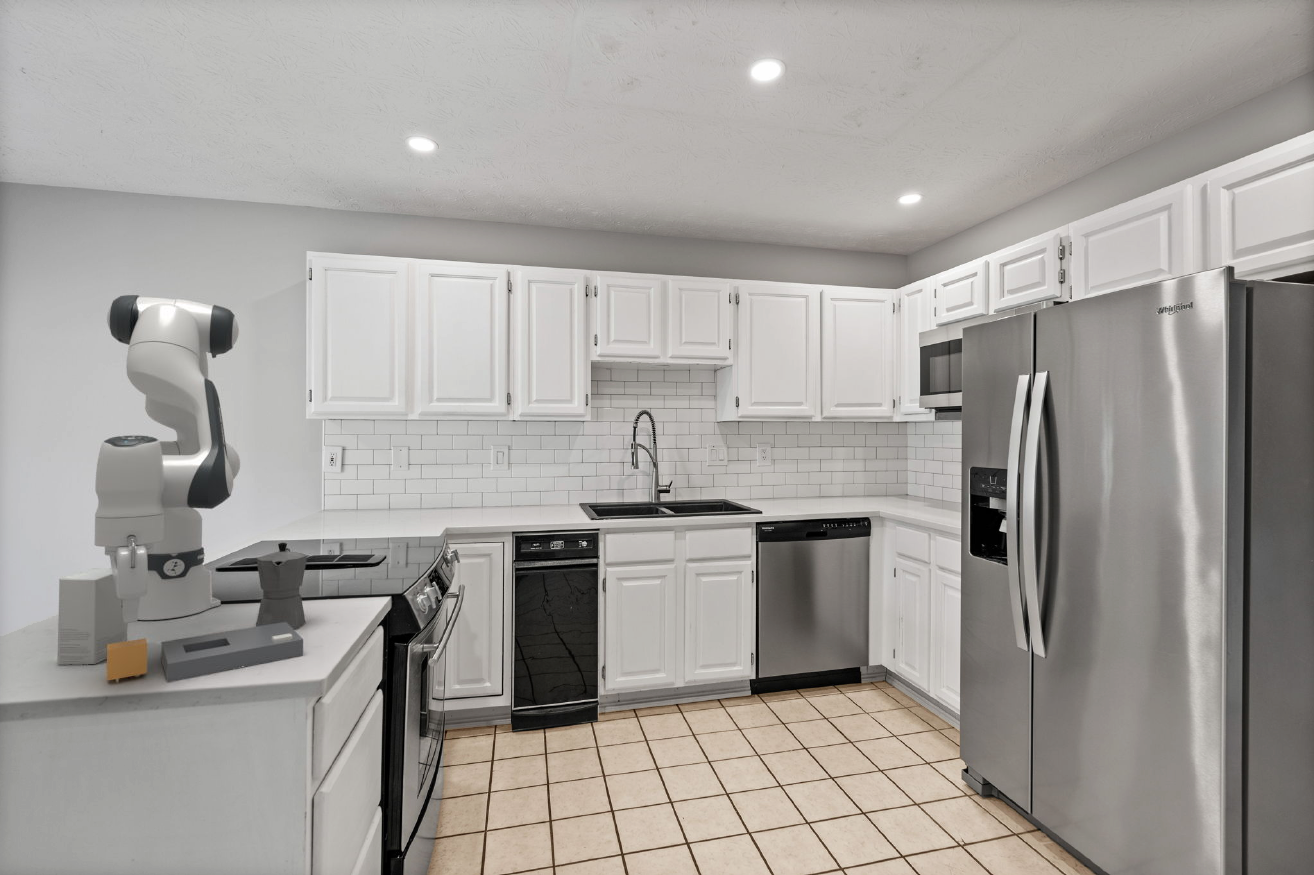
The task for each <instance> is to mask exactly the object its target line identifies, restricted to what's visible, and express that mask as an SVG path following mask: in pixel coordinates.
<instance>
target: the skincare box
mask: <svg viewBox="0 0 1314 875" xmlns="http://www.w3.org/2000/svg"><path fill="white" fill-rule="evenodd" d="M58 579H59V580H58V585H59V586H58V618H57V619H58V620H57V621H58V624H57V625H58V626H57V628H58V630H57V631H58V632H57V663H56V664H57V666H70V665H69V664H72V665H71V666H83V665H82V664H85V665H84V666H89V665H88V664H95V665H96V663H97V664H98V663H101V662H103V661H105V660H107V644H112V643H119V642H125V641H128V631H129V630H128V625H129V624H128V623H125V622H124V621H123V611H122V610H121V599H119V598H118V597H117V592H116V587H115V582H114V578H113V574H112V568H111V567H95V568H90V569H88V570H85V571H81V572H80V571H79V572H78V573H74V574H70V575H68V576H64V577H61V578H58ZM104 659H105V660H104ZM100 661H101V662H100ZM67 664H68V665H67ZM86 664H87V665H86Z"/></svg>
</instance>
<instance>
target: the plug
mask: <svg viewBox="0 0 1314 875" xmlns="http://www.w3.org/2000/svg"><path fill="white" fill-rule="evenodd" d="M147 669H148V642H147V638H138V639H134V640H133V639H132V640H127V641H125V642H119V643H112V644H107V659H106V681H112V680H115V682H117V683H119V680H120V679H123V678H128V677H135V678H137V677H140V676H141V675H145V674H147V672H148V670H147Z"/></svg>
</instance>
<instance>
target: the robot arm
mask: <svg viewBox="0 0 1314 875" xmlns="http://www.w3.org/2000/svg"><path fill="white" fill-rule="evenodd" d="M106 323H107V326H108V328H109V331H110V334H111V336H112V337H113V338H114V339H115V340H117V341H118V342H119V343H121V344H125V345H128V351H127V355H126V356H127V357H126V368H125V369H126V376H127V379H128V380H129V382H130V383H131V385H132V386H133V387H134V388H135V389H136V390H137V391H139V392H140V393H141V394H143V395H144V396H145V402H144V403H145V406H144V410H145V412H146V414H147V416H148V417H149V418H150V419H151V420H152V421H153V422H154V421H155V422H156V423H158V424H160V425H162V426H165V427H168V428H170V429H173V430H174V431H175V433H176V440H171V441H170V440H169V441H166V440H165V441H163V440H162V441H161V440H159V439H158V438H156V437H153V436H149V435H121V436H120V435H118V436H113V437H109V438H107V439H105V440H104V441H102V443H101V445H100V448H99V453H98V459H97V463H96V472H95V493H96V496H97V500H98V503H97V504H98V505H97V508H96V511H95V513H94V546H96V547H104V555H105V556H108V557H109V559H110V566H111V567H110V568H112V574H113V578H114V582H115V587H116V592H117V597H118V598H119V599H121V610H122V611H123V621H124V622H125V623H135V622H137V621H138V620H140V621H154V620H155V621H156V620H165V619H166V620H168V619H174V618H181V617H186V616H192V615H195V614H198V613H201V612H204V611H206V610H208V609H211V608H215V607H218V606H221V605H222V604H221V603H222V602H221V600H220V599H218V598H217V597H214V596H213V584H212V582H213V581H212V580H213V578H212V577H213V576H212V571H211V570H210V569H208V568H207V567H206V566H205V565H204V562H205V554H206V553H205V549H204V547H203V517H202V515H201V514H200V512H199V511H198V510H197V509H204V510H205V509H211V510H212V509H214V508H216V507H218V506H219V505H221V504H222V503H224V502H225V501H226V500H228V499H229V498H230V497H231V496H232V492H233V489H234V479H236V477H237V476H238V474H239V472H240V467H241V459H240V456H239V454H238V452H237V451H236V450H235V448H234V447H233V446H231V445H230V444H229V443H227V442H226V437H225V429H224V422H223V415H222V408H221V403H220V399H219V398H220V397H219V394H218V390H217V388H216V386H215V384H214V382H213V381H212V380H211V379H209V364H208V362H209V361H208V354H207V353H209V354H211V357H212V359H215V358H217V355H223V354H226V353H228V352H229V351H231V350H232V349H233V348H234V345H235V344H236V342H238V341H237V340H238V338H239V335H240V334H239V333H240V332H239V331H240V330H239V324H238V322H237V319H236V316H235V314H234V313H233V311H232V310H230V309H229V308H226V307H223V306H220V305H217V304H214V305H209V304H206V303H201V302H197V301H193V300H188V299H182V298H176V299H174V298H166V297H165V298H164V297H153V296H152V297H150V296H140V295H138V294H136V295H135V294H126V295H125V294H124V295H121V296H119V297H118V296H117V297H116V298H115V299H113V300H112V303H111V305H110V306H109V309H108V311H107V314H106Z"/></svg>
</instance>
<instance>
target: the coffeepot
mask: <svg viewBox="0 0 1314 875" xmlns="http://www.w3.org/2000/svg"><path fill="white" fill-rule="evenodd" d="M277 545H278V551H276V552H272V553H269V554H268V553H267V554H265V555H262V556H259V557H256V563H257V571H258V577H259V584H260V589H261V590H262V591H263V592H262V594H263V595H262V598H261V599H260V604H259V608H258V613H257V618H256V623H255V627H257V626H263V625H270V624H276V623H282V622H287V623H288V624H289V625H290V626H291V627H292V628H293V629H294V630H296V629H300V628H302V627H303V626H304V625H305V624H306V616H305V612H304V611H305V610H304V606H303V601H302V595H301V594H300V587H301V586H303V581H304V575H305V571H306V564H307V560H308V554H304V553H303V552H297V551H291V549H290V548H288V547H287V545H288V543H286V542H280V543H277Z"/></svg>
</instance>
